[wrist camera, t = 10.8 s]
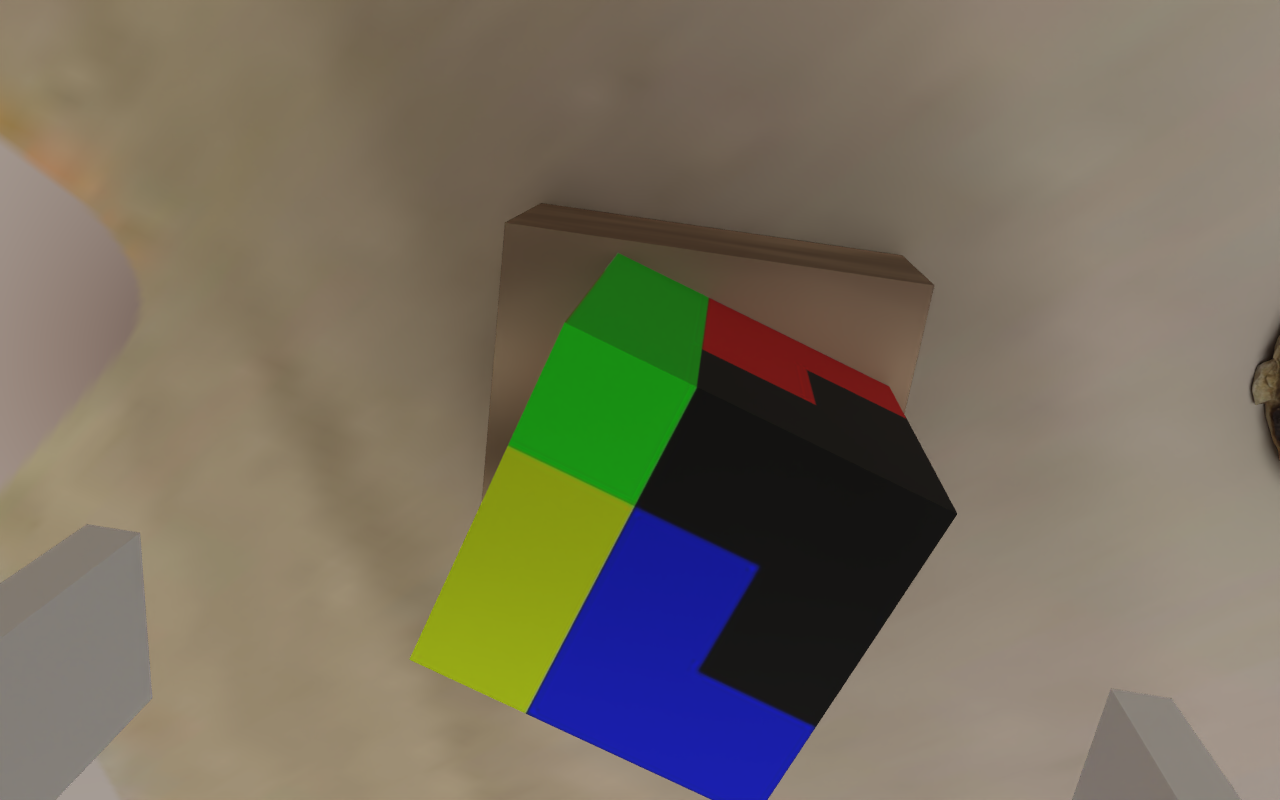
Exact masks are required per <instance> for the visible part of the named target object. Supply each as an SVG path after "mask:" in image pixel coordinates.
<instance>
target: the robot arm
mask: <svg viewBox="0 0 1280 800" xmlns="http://www.w3.org/2000/svg"><path fill="white" fill-rule="evenodd" d="M151 699H152V689H151V675H150V661H149V648H148V634H147V621H146V607H145V594H144V580H143V566H142V553H141V539H140V533H139V532H132V531H126V530H120V529H114V528H108V527H101V526H95V525H89V524H87V525H85V526H84V527H82V528H81V529H79V530H78V531H76V532H75V533H73V534H72V535H70V536H69V537H67V538H66V539H65V540H63V541H62V542H60V543H59V544H57V545H56V546H54V547H53V548H51V549H50V550H48V551H47V552H46V553H44V554H43V555H41V556H40V557H38V558H37V559H35V560H34V561H32V562H31V563H29V564H28V565H27V566H25V567H24V568H22V569H21V570H19V571H18V572H16V573H15V574H13V575H12V576H10V577H9V578H8V579H6V580H5V581H3V582H2V583H0V800H56V799H57V798H58V797H59V796H60V795H61V794H62V793H63V791H64V790H65V789H66V788H67V787H68V786H69V785H70V784H71V783H72V782H73V781H74V780H75V779H76V778H77V777H78V776H79V775H80V774H81V772H83V771H84V769H85V768H86V767H87V766H88V765H89V764H90V763H91V762H92V761H93V760H94V759H95V758H96V757H97V756H98V755H99V754H100V753H101V752H102V750H103V749H104V748H105V747H106V746H107V745H108V744H109V743H110V742H111V741H112V740H113V739H114V738H115V737H116V736H117V735H118V734H119V733H120V732H121V730H122V729H123V728H124V727H125V726H126V725H127V724H128V723H129V722H130V721H131V720H132V719H133V718H134V717H135V716H136V715H137V714H138V713H139V711H140V710H141V709H142V708H143V707H144V706H145V705H146V704H147V703H148V702H149V701H150V700H151ZM1072 800H1241V798H1240V797H1239V795H1238V794H1237V793H1236V791H1235V790H1234V788H1233V787H1232V785H1231V784H1230V782H1229V781H1228V779H1227V778H1226V777H1225V775H1224V774H1223V772H1222V771H1221V769H1220V768H1219V766H1218V765H1217V764H1216V762H1215V761H1214V759H1213V758H1212V756H1211V755H1210V753H1209V752H1208V750H1207V749H1206V748H1205V746H1204V745H1203V743H1202V742H1201V740H1200V739H1199V737H1198V736H1197V735H1196V733H1195V732H1194V730H1193V729H1192V727H1191V726H1190V724H1189V723H1188V721H1187V720H1186V719H1185V717H1184V716H1183V714H1182V713H1181V711H1180V710H1179V708H1178V707H1177V706H1176V704H1175V703H1174V701H1173V700H1172V698H1167V697H1161V696H1155V695H1148V694H1142V693H1136V692H1130V691H1123V690H1117V689H1111V690H1110V693H1109V696H1108V698H1107V701H1106V704H1105V707H1104V710H1103V713H1102V716H1101V718H1100V721H1099V724H1098V727H1097V730H1096V733H1095V736H1094V739H1093V741H1092V744H1091V747H1090V750H1089V753H1088V756H1087V759H1086V761H1085V764H1084V767H1083V770H1082V773H1081V776H1080V779H1079V782H1078V784H1077V787H1076V790H1075V793H1074V796H1073V799H1072Z"/></svg>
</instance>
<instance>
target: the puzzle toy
mask: <svg viewBox="0 0 1280 800" xmlns="http://www.w3.org/2000/svg"><path fill="white" fill-rule="evenodd" d="M956 515H957V512H956V510H955V508H954V507H953V505H952V503H951V501H950V499H949V497H948V495H947V493H946V492H945V490H944V488H943V486H942V484H941V482H940V480H939V478H938V477H937V475H936V473H935V471H934V469H933V467H932V465H931V463H930V462H929V460H928V458H927V456H926V454H925V452H924V450H923V448H922V447H921V445H920V443H919V441H918V439H917V437H916V435H915V434H914V432H913V430H912V428H911V426H910V424H909V422H908V420H907V419H906V417H905V415H904V413H903V411H902V409H901V407H900V405H899V404H898V402H897V400H896V398H895V396H894V394H893V392H892V390H891V389H890V387H889V386H888V385H886V384H883V383H881V382H879V381H877V380H875V379H873V378H871V377H869V376H867V375H865V374H863V373H861V372H859V371H857V370H855V369H853V368H851V367H849V366H847V365H845V364H843V363H841V362H839V361H837V360H835V359H833V358H831V357H829V356H827V355H825V354H823V353H821V352H819V351H816V350H814V349H812V348H810V347H808V346H806V345H804V344H802V343H800V342H798V341H796V340H794V339H792V338H790V337H788V336H786V335H784V334H782V333H780V332H778V331H776V330H774V329H772V328H770V327H768V326H766V325H764V324H762V323H760V322H758V321H756V320H754V319H752V318H749V317H747V316H745V315H743V314H741V313H739V312H737V311H735V310H733V309H731V308H729V307H727V306H725V305H723V304H721V303H719V302H717V301H715V300H713V299H711V298H709V297H707V296H705V295H703V294H701V293H699V292H697V291H695V290H693V289H691V288H689V287H687V286H685V285H683V284H680V283H678V282H676V281H674V280H672V279H670V278H668V277H666V276H664V275H662V274H660V273H658V272H656V271H654V270H652V269H650V268H648V267H646V266H644V265H642V264H640V263H638V262H636V261H634V260H632V259H630V258H628V257H626V256H624V255H622V254H620V253H617V255H616V256H615V257H614V259H613V260H612V261H611V263H610V264H609V265H608V266H607V268H606V269H605V270H604V272H603V273H602V274H601V276H600V277H599V278H598V279H597V281H596V282H595V283H594V285H593V286H592V287H591V289H590V290H589V291H588V292H587V294H586V295H585V296H584V298H583V299H582V300H581V302H580V303H579V304H578V305H577V307H576V308H575V309H574V311H573V312H572V313H571V315H570V316H569V317H568V319H567V320H566V321H565V322H564V325H563V327H562V329H561V331H560V333H559V335H558V338H557V340H556V342H555V344H554V346H553V348H552V351H551V353H550V355H549V357H548V359H547V362H546V364H545V366H544V368H543V370H542V372H541V375H540V377H539V379H538V381H537V383H536V385H535V388H534V390H533V392H532V394H531V396H530V399H529V401H528V403H527V405H526V407H525V409H524V412H523V414H522V416H521V418H520V420H519V422H518V425H517V427H516V429H515V431H514V433H513V435H512V438H511V440H510V442H509V444H508V446H507V449H506V451H505V453H504V455H503V457H502V459H501V462H500V464H499V466H498V468H497V470H496V472H495V475H494V477H493V479H492V481H491V483H490V485H489V488H488V490H487V492H486V494H485V496H484V499H483V501H482V503H481V505H480V507H479V509H478V512H477V514H476V516H475V518H474V520H473V522H472V525H471V527H470V529H469V531H468V533H467V535H466V538H465V540H464V542H463V544H462V546H461V549H460V551H459V553H458V555H457V557H456V559H455V562H454V564H453V566H452V568H451V570H450V572H449V575H448V577H447V579H446V581H445V583H444V586H443V588H442V590H441V592H440V594H439V596H438V599H437V601H436V603H435V605H434V607H433V609H432V612H431V614H430V616H429V618H428V620H427V622H426V625H425V627H424V629H423V631H422V633H421V636H420V638H419V640H418V642H417V644H416V646H415V649H414V651H413V653H412V655H411V657H410V659H409V660H411V661H414V662H416V663H418V664H420V665H422V666H424V667H426V668H429V669H431V670H433V671H435V672H437V673H439V674H442V675H444V676H446V677H448V678H450V679H452V680H455V681H457V682H459V683H461V684H463V685H465V686H467V687H470V688H472V689H474V690H476V691H478V692H480V693H483V694H485V695H487V696H489V697H491V698H493V699H495V700H498V701H500V702H502V703H504V704H506V705H508V706H511V707H513V708H515V709H517V710H519V711H521V712H524V713H526V714H528V715H530V716H532V717H534V718H536V719H539V720H541V721H543V722H545V723H547V724H549V725H552V726H554V727H556V728H558V729H560V730H562V731H565V732H567V733H569V734H571V735H573V736H575V737H577V738H580V739H582V740H584V741H586V742H588V743H590V744H593V745H595V746H597V747H599V748H601V749H603V750H606V751H608V752H610V753H612V754H614V755H616V756H618V757H621V758H623V759H625V760H627V761H629V762H631V763H634V764H636V765H638V766H640V767H642V768H644V769H646V770H649V771H651V772H653V773H655V774H657V775H659V776H662V777H664V778H666V779H668V780H670V781H672V782H675V783H677V784H679V785H681V786H683V787H685V788H687V789H690V790H692V791H694V792H696V793H698V794H700V795H703V796H705V797H707V798H709V799H711V800H768V798H769V797H770V795H771V794H772V792H773V791H774V789H775V788H776V786H777V785H778V783H779V782H780V780H781V779H782V777H783V776H784V774H785V773H786V771H787V770H788V768H789V767H790V765H791V764H792V762H793V761H794V759H795V758H796V756H797V755H798V753H799V752H800V750H801V749H802V747H803V746H804V744H805V742H806V741H807V739H808V738H809V736H810V735H811V733H812V732H813V730H814V729H815V727H816V726H817V724H818V723H819V721H820V720H821V718H822V717H823V715H824V714H825V712H826V711H827V709H828V708H829V706H830V705H831V703H832V702H833V700H834V699H835V697H836V696H837V694H838V693H839V691H840V690H841V688H842V687H843V685H844V684H845V682H846V681H847V679H848V678H849V676H850V675H851V673H852V672H853V670H854V669H855V667H856V666H857V664H858V663H859V661H860V660H861V658H862V657H863V655H864V654H865V652H866V651H867V649H868V648H869V646H870V645H871V643H872V642H873V640H874V639H875V637H876V636H877V634H878V633H879V631H880V630H881V628H882V627H883V625H884V624H885V622H886V621H887V619H888V618H889V616H890V615H891V613H892V612H893V610H894V608H895V607H896V605H897V604H898V602H899V601H900V599H901V598H902V596H903V595H904V593H905V592H906V590H907V589H908V587H909V586H910V584H911V583H912V581H913V580H914V578H915V577H916V575H917V574H918V572H919V571H920V569H921V568H922V566H923V565H924V563H925V562H926V560H927V559H928V557H929V556H930V554H931V553H932V551H933V550H934V548H935V547H936V545H937V544H938V542H939V541H940V539H941V538H942V536H943V535H944V533H945V532H946V530H947V529H948V527H949V526H950V524H951V523H952V521H953V520H954V518H955V517H956Z"/></svg>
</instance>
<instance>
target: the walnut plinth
mask: <svg viewBox="0 0 1280 800" xmlns="http://www.w3.org/2000/svg"><path fill="white" fill-rule="evenodd" d="M617 253H620V254H622V255H624V256H626V257H628V258H630V259H632V260H634V261H636V262H638V263H640V264H642V265H644V266H646V267H648V268H650V269H652V270H654V271H656V272H658V273H660V274H662V275H664V276H666V277H668V278H670V279H672V280H674V281H676V282H678V283H680V284H683V285H685V286H687V287H689V288H691V289H693V290H695V291H697V292H699V293H701V294H703V295H705V296H707V297H709V298H711V299H713V300H715V301H717V302H719V303H721V304H723V305H725V306H727V307H729V308H731V309H733V310H735V311H737V312H739V313H741V314H743V315H745V316H747V317H749V318H752V319H754V320H756V321H758V322H760V323H762V324H764V325H766V326H768V327H770V328H772V329H774V330H776V331H778V332H780V333H782V334H784V335H786V336H788V337H790V338H792V339H794V340H796V341H798V342H800V343H802V344H804V345H806V346H808V347H810V348H812V349H814V350H816V351H819V352H821V353H823V354H825V355H827V356H829V357H831V358H833V359H835V360H837V361H839V362H841V363H843V364H845V365H847V366H849V367H851V368H853V369H855V370H857V371H859V372H861V373H863V374H865V375H867V376H869V377H871V378H873V379H875V380H877V381H879V382H881V383H883V384H886V385H888V386H889V387H890V389H891V390H892V392H893V394H894V396H895V398H896V400H897V402H898V404H899V405H900V407H901V409H902V411H903V413H905V408H906V404H907V400H908V396H909V391H910V387H911V383H912V379H913V374H914V370H915V366H916V362H917V357H918V353H919V349H920V345H921V340H922V336H923V332H924V328H925V323H926V319H927V315H928V310H929V306H930V302H931V298H932V293H933V289H934V285H933V284H932V283H931V282H930V281H929V280H928V279H927V278H926V277H925V276H924V275H923V274H922V273H921V272H919V271H918V270H917V269H916V268H915V267H914V266H913V265H912V264H911V263H910V262H909V261H908V260H907V259H906V258H905V257H903V256H902V255H895V254H888V253H881V252H875V251H868V250H861V249H854V248H847V247H840V246H833V245H826V244H819V243H812V242H805V241H799V240H792V239H785V238H778V237H771V236H764V235H757V234H750V233H743V232H736V231H730V230H723V229H716V228H709V227H702V226H695V225H688V224H681V223H674V222H667V221H661V220H654V219H647V218H640V217H633V216H626V215H619V214H612V213H605V212H598V211H592V210H585V209H578V208H571V207H564V206H557V205H550V204H543V203H541V204H539V205H537V206H535V207H533V208H532V209H530V210H528V211H526V212H524V213H522V214H520V215H518V216H517V217H515V218H513V219H511V220H509V221H507V222H505V229H504V241H503V253H502V265H501V277H500V289H499V301H498V313H497V325H496V338H495V350H494V362H493V374H492V386H491V398H490V410H489V422H488V434H487V446H486V458H485V470H484V482H483V494H482V501H483V499H484V496H485V494H486V492H487V490H488V488H489V485H490V483H491V481H492V479H493V477H494V475H495V472H496V470H497V468H498V466H499V464H500V462H501V459H502V457H503V455H504V453H505V451H506V449H507V446H508V444H509V442H510V440H511V438H512V435H513V433H514V431H515V429H516V427H517V425H518V422H519V420H520V418H521V416H522V414H523V412H524V409H525V407H526V405H527V403H528V401H529V399H530V396H531V394H532V392H533V390H534V388H535V385H536V383H537V381H538V379H539V377H540V375H541V372H542V370H543V368H544V366H545V364H546V362H547V359H548V357H549V355H550V353H551V351H552V348H553V346H554V344H555V342H556V340H557V338H558V335H559V333H560V331H561V329H562V327H563V325H564V322H565V321H566V320H567V319H568V317H569V316H570V315H571V313H572V312H573V311H574V309H575V308H576V307H577V305H578V304H579V303H580V302H581V300H582V299H583V298H584V296H585V295H586V294H587V292H588V291H589V290H590V289H591V287H592V286H593V285H594V283H595V282H596V281H597V279H598V278H599V277H600V276H601V274H602V273H603V272H604V270H605V269H606V268H607V266H608V265H609V264H610V263H611V261H612V260H613V259H614V257H615V256H616V255H617Z"/></svg>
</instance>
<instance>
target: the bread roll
mask: <svg viewBox="0 0 1280 800" xmlns="http://www.w3.org/2000/svg"><path fill="white" fill-rule="evenodd" d="M1252 392H1253V396H1254V400H1255V405H1258V404H1263V403H1264V405H1265V407H1266V418H1267V422H1268V425H1269V429H1270V432H1271V436H1272V439H1273V442H1274V444H1275V445H1276V447H1277V449H1278V453H1279V460H1280V335H1279V337H1278V339H1277V342H1276V345H1275V347H1274V355H1273V359H1271V360H1270V361H1266V362H1263V363H1262V364H1261V365H1258V366H1257V369H1256V372H1255V376H1254V381H1253V385H1252Z"/></svg>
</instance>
